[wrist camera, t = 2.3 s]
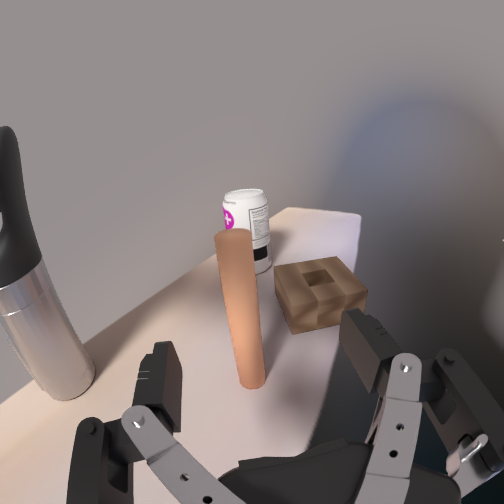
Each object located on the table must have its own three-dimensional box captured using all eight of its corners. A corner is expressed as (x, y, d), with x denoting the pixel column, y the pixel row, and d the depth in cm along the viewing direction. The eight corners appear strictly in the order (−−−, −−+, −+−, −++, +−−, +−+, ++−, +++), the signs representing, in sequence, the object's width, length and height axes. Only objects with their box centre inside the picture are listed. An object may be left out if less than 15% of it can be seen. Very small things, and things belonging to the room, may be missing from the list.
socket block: (292, 334, 36) (292, 305, 34) (275, 292, 46) (273, 266, 44) (363, 317, 37) (368, 289, 35) (335, 281, 47) (336, 256, 45)
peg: (241, 391, 28) (214, 244, 20) (238, 372, 31) (213, 231, 23) (267, 386, 28) (254, 239, 21) (263, 368, 31) (248, 226, 23)
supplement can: (232, 279, 51) (222, 201, 45) (230, 260, 58) (221, 191, 52) (275, 273, 52) (270, 195, 45) (267, 255, 59) (262, 186, 53)
